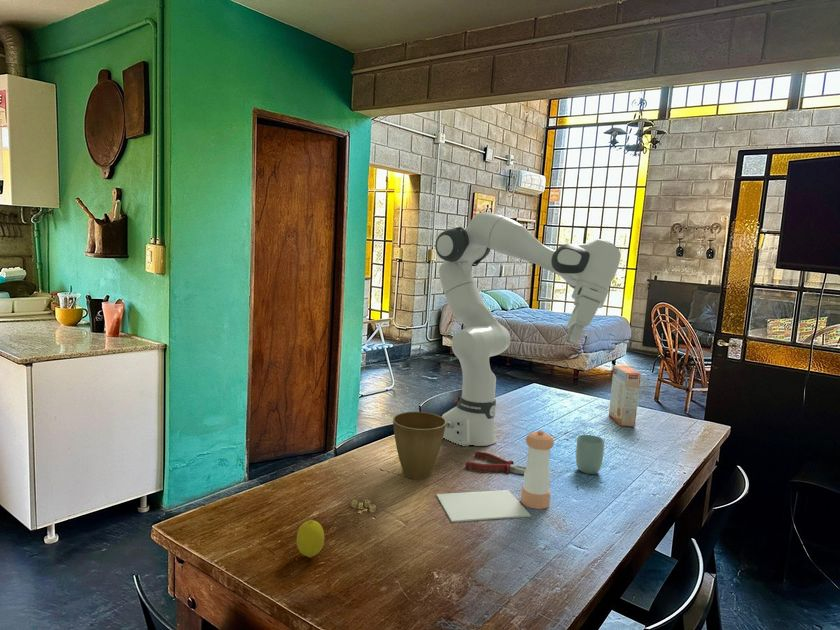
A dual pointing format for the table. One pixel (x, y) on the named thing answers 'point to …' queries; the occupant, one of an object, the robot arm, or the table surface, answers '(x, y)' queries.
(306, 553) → the lemon
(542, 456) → the pepper shaker
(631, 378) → the cracker box
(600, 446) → the cup
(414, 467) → the plant pot
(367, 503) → the dice set
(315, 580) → the table surface
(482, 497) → the mat
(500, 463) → the pliers
